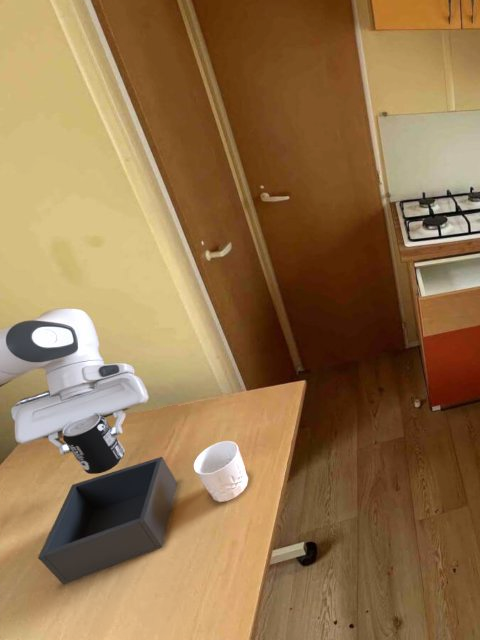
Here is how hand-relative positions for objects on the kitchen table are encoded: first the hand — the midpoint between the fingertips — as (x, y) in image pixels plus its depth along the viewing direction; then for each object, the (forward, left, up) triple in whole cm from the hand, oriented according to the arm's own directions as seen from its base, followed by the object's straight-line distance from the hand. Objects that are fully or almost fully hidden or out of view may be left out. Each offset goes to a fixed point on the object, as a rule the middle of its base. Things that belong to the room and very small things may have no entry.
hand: (93, 443), depth 88 cm
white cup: (+23, -13, -12) cm, 29 cm away
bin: (+5, -14, -11) cm, 19 cm away
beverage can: (0, +1, -7) cm, 7 cm away
